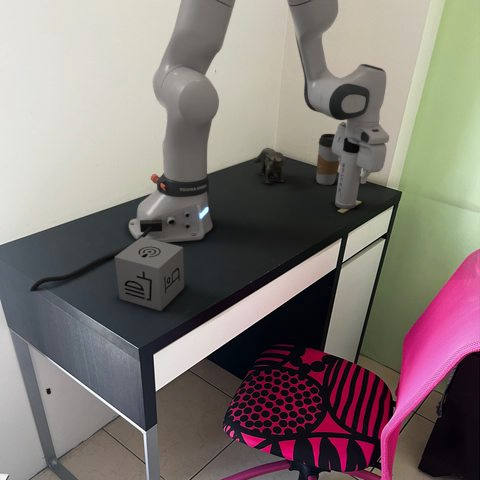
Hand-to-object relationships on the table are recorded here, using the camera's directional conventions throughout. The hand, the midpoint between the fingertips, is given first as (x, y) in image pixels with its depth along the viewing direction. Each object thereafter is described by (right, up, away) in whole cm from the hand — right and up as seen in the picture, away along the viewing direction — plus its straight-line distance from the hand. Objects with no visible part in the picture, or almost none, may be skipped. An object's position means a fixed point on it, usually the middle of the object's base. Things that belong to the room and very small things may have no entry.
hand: (352, 177), depth 144 cm
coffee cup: (-4, +5, +22) cm, 22 cm away
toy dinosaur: (-23, +6, +21) cm, 32 cm away
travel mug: (-1, -7, +5) cm, 9 cm away
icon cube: (-52, -37, -40) cm, 75 cm away
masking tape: (0, -8, +5) cm, 9 cm away
